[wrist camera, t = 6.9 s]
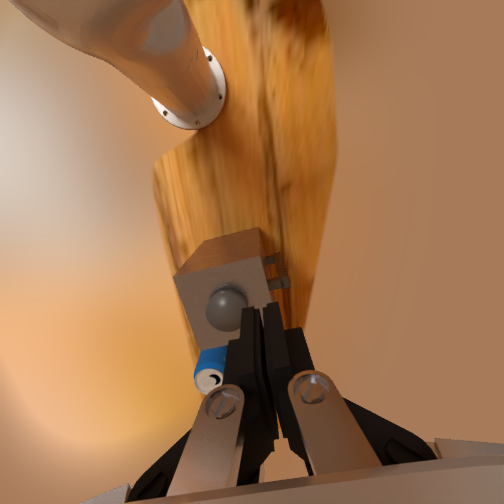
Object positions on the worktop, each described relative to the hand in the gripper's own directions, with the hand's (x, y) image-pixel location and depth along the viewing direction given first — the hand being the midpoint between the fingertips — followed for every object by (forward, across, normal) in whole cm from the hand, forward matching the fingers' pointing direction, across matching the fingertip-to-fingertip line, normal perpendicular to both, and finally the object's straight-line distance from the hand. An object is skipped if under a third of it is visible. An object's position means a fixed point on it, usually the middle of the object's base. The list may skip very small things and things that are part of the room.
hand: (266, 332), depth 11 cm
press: (+37, +4, +9) cm, 39 cm away
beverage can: (+37, +14, +26) cm, 47 cm away
